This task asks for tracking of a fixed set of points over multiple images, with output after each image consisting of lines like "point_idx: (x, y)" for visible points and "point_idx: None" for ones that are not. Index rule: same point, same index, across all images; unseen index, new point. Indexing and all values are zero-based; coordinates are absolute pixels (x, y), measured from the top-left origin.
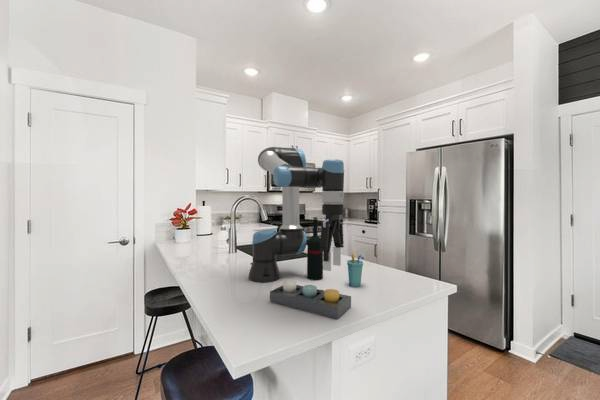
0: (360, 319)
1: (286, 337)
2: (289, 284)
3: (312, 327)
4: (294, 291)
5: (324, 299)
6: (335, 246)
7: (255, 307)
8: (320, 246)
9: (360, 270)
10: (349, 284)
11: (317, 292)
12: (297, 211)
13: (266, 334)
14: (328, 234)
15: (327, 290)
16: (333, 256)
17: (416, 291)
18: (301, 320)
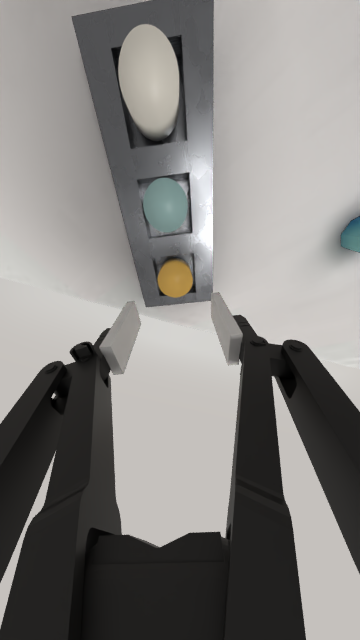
0: (173, 321)
1: (39, 269)
2: (134, 99)
3: (96, 281)
4: (153, 137)
5: (164, 263)
6: (245, 342)
7: (24, 49)
8: (34, 383)
9: None
10: (353, 221)
11: (192, 219)
12: None
13: (8, 233)
14: (26, 504)
15: (175, 268)
16: (218, 310)
17: (333, 344)
18: (97, 250)
